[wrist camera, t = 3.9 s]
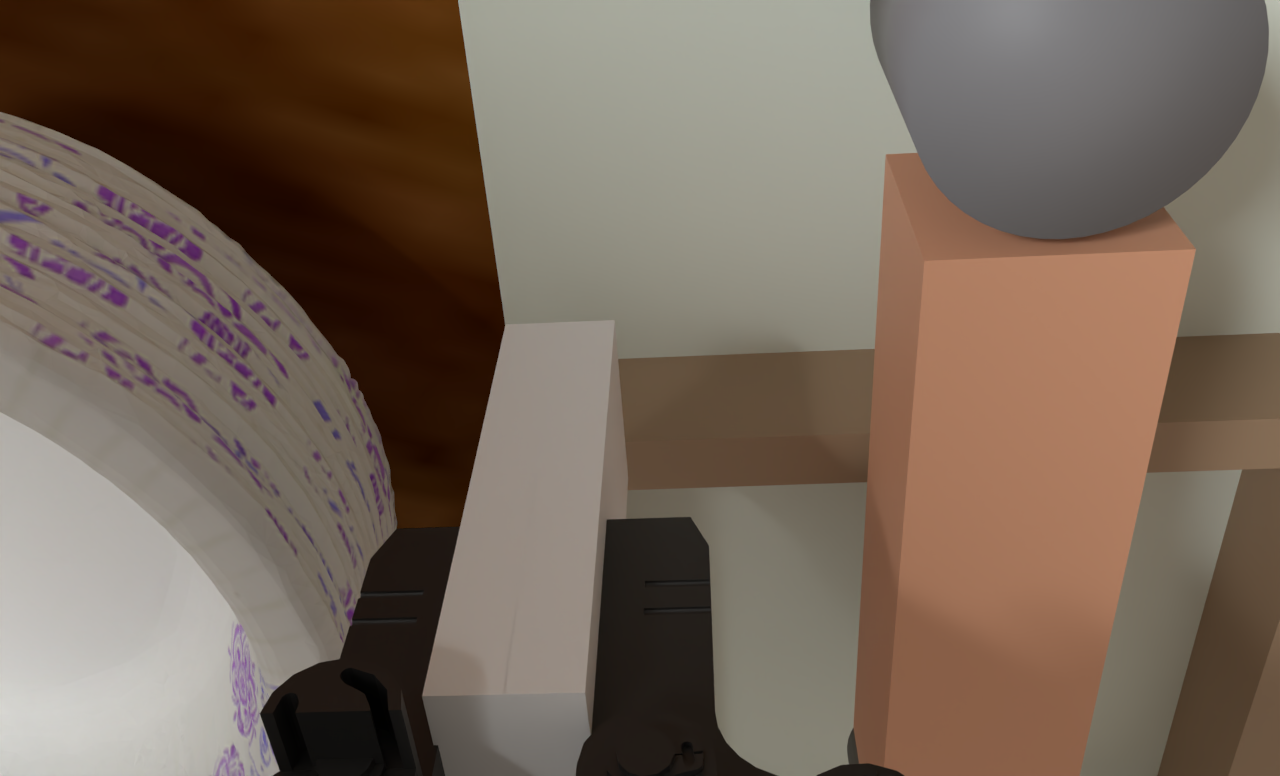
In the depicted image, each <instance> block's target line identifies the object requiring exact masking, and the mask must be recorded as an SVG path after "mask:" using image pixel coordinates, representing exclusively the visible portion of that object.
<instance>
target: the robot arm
mask: <svg viewBox="0 0 1280 776" xmlns="http://www.w3.org/2000/svg"><path fill="white" fill-rule="evenodd" d="M627 491H628V470H627V458H626V446H625V434H624V423H623V411H622V399H621V387H620V376H619V364H618V352H617V340H616V328H615V320H604V321H580V322H555V323H530V324H505V329H504V333H503V338H502V342H501V347H500V351H499V356H498V360H497V365H496V369H495V373H494V378H493V382H492V387H491V391H490V396H489V400H488V405H487V409H486V414H485V418H484V422H483V427H482V431H481V436H480V440H479V445H478V449H477V454H476V458H475V463H474V467H473V471H472V476H471V480H470V485H469V489H468V494H467V498H466V503H465V507H464V511H463V516H462V520H461V525H460V527H435V528H403V529H396V530H395V531H394V532H393V533H392V534H391V536H390V537H389V538H388V539H387V540H386V541H385V542H384V544H383V545H382V546H381V547H380V548H379V549H378V551H377V552H376V553H375V554H374V555H373V556H372V557H371V559H370V562H369V565H368V568H367V571H366V575H365V578H364V581H363V584H362V588H361V591H360V598H358V601H357V604H356V607H355V610H354V614H353V617H352V626H350V627H349V630H348V633H347V636H346V640H345V643H344V646H343V649H342V653H341V656H340V659H338V660H332V661H326V662H320V663H317V664H315V665H313V666H311V667H309V668H307V669H304V670H302V671H300V672H298V673H296V674H293V675H292V676H291V677H290V678H289V679H288V680H286V681H285V682H284V683H283V684H282V685H281V686H279V687H278V688H277V689H276V690H275V691H273V692H272V694H271V696H270V697H269V699H268V701H267V702H266V704H265V706H264V707H263V709H262V711H261V712H260V716H261V719H262V722H263V724H264V727H265V730H266V733H267V736H268V739H269V741H270V744H271V747H272V750H273V753H274V756H275V758H276V761H277V764H278V767H279V770H280V771H279V772H277V773H276V774H274V775H272V776H777V775H775V774H772V773H769V772H767V771H764V770H762V769H759V768H756V767H755V766H753V765H752V764H750V763H749V762H747V761H746V760H744V759H743V758H741V757H740V756H739V755H738V754H737V753H736V752H735V751H734V750H733V749H732V748H731V747H730V746H729V745H728V744H727V743H726V741H725V739H724V737H723V735H722V733H721V731H720V729H719V728H718V724H717V719H716V714H715V691H714V663H713V635H712V609H711V583H710V557H709V545H708V543H707V542H706V540H705V539H704V537H703V536H702V534H701V532H700V531H699V529H698V528H697V526H696V525H695V523H694V522H693V520H692V518H691V517H668V518H637V519H626V510H627ZM817 776H904V775H903V774H901V773H900V772H898V771H896V770H892V769H889V768H885V767H881V766H877V765H874V764H870V763H865V764H847V765H840V766H837V767H835V768H832V769H830V770H828V771H825V772H823V773H821V774H818V775H817Z"/></svg>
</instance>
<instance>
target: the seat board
mask: <svg viewBox="0 0 1280 776" xmlns="http://www.w3.org/2000/svg"><path fill="white" fill-rule="evenodd" d="M458 4H459V10H460V17H461V24H462V31H463V38H464V45H465V52H466V59H467V66H468V72H469V79H470V86H471V93H472V100H473V107H474V114H475V121H476V128H477V134H478V141H479V148H480V155H481V162H482V169H483V176H484V183H485V189H486V196H487V203H488V210H489V217H490V224H491V231H492V238H493V245H494V251H495V258H496V265H497V272H498V279H499V286H500V293H501V300H502V307H503V313H504V320H505V324H530V323H555V322H580V321H604V320H615V328H616V340H617V352H618V364H619V376H620V387H621V399H622V411H623V423H624V434H625V446H626V458H627V470H628V491H627V510H626V519H637V518H668V517H691V518H692V520H693V522H694V523H695V525H696V526H697V528H698V529H699V531H700V532H701V534H702V536H703V537H704V539H705V540H706V542H707V543H708V545H709V557H710V583H711V609H712V635H713V663H714V691H715V714H716V719H717V724H718V728H719V729H720V731H721V733H722V735H723V737H724V739H725V741H726V743H727V744H728V745H729V746H730V747H731V748H732V749H733V750H734V751H735V752H736V753H737V754H738V755H739V756H740V757H741V758H743V759H744V760H746V761H747V762H749V763H750V764H752V765H753V766H755V767H756V768H759V769H762V770H764V771H767V772H769V773H772V774H775V775H777V776H817V775H818V774H821V773H823V772H825V771H828V770H830V769H832V768H835V767H837V766H840V765H847V764H849V762H848V755H847V744H848V738H849V736H850V733H851V731H852V729H853V726H854V708H855V690H856V672H857V655H858V637H859V619H860V602H861V584H862V566H863V548H864V531H865V513H866V495H867V477H868V460H869V442H870V424H871V406H872V389H873V371H874V353H875V336H876V318H877V300H878V282H879V265H880V247H881V229H882V211H883V194H884V176H885V158H886V154H903V153H917V150H916V148H915V145H914V143H913V141H912V138H911V136H910V133H909V131H908V129H907V126H906V124H905V122H904V119H903V117H902V114H901V112H900V110H899V107H898V105H897V102H896V100H895V98H894V95H893V93H892V90H891V88H890V86H889V83H888V81H887V79H886V76H885V74H884V71H883V69H882V67H881V64H880V62H879V59H878V56H877V53H876V50H875V47H874V43H873V38H872V32H871V25H870V0H458ZM1265 4H1266V8H1267V16H1268V24H1269V47H1268V56H1267V62H1266V68H1265V74H1264V77H1263V81H1262V84H1261V87H1260V90H1259V94H1258V97H1257V99H1256V101H1255V103H1254V106H1253V108H1252V110H1251V112H1250V115H1249V117H1248V119H1247V120H1246V122H1245V124H1244V126H1243V127H1242V129H1241V131H1240V132H1239V134H1238V136H1237V137H1236V139H1235V140H1234V142H1233V143H1232V144H1231V146H1230V147H1229V148H1228V150H1227V151H1226V152H1225V154H1224V155H1223V156H1222V158H1221V159H1220V160H1219V161H1218V162H1217V163H1216V164H1215V165H1214V166H1213V167H1212V168H1211V169H1210V170H1209V172H1208V173H1207V174H1206V175H1205V176H1204V177H1202V178H1201V179H1200V180H1199V181H1198V182H1197V183H1196V184H1194V185H1193V186H1192V187H1191V188H1190V189H1189V190H1188V191H1186V192H1185V193H1183V194H1182V195H1181V196H1179V197H1178V198H1176V199H1175V200H1174V201H1172V202H1171V203H1169V204H1168V205H1166V206H1164V208H1165V210H1166V211H1167V212H1168V213H1169V215H1170V216H1171V217H1172V219H1173V220H1174V221H1175V223H1176V224H1177V225H1178V226H1179V228H1180V229H1181V230H1182V232H1183V233H1184V234H1185V236H1186V237H1187V238H1188V239H1189V241H1190V242H1191V243H1192V245H1193V246H1194V247H1195V249H1196V252H1195V256H1194V261H1193V265H1192V270H1191V274H1190V279H1189V283H1188V288H1187V292H1186V297H1185V301H1184V306H1183V310H1182V315H1181V319H1180V324H1179V328H1178V333H1177V338H1176V342H1175V347H1174V351H1173V356H1172V360H1171V365H1170V369H1169V374H1168V378H1167V383H1166V387H1165V392H1164V396H1163V401H1162V405H1161V410H1160V414H1159V419H1158V423H1157V428H1156V432H1155V437H1154V441H1153V446H1152V451H1151V455H1150V460H1149V464H1148V469H1147V473H1146V478H1145V482H1144V487H1143V491H1142V496H1141V500H1140V505H1139V509H1138V514H1137V518H1136V523H1135V527H1134V532H1133V536H1132V541H1131V545H1130V550H1129V555H1128V559H1127V564H1126V568H1125V573H1124V577H1123V582H1122V586H1121V591H1120V595H1119V600H1118V604H1117V609H1116V613H1115V618H1114V622H1113V627H1112V631H1111V636H1110V640H1109V645H1108V649H1107V654H1106V658H1105V663H1104V668H1103V672H1102V677H1101V681H1100V686H1099V690H1098V695H1097V699H1096V704H1095V708H1094V713H1093V717H1092V722H1091V726H1090V731H1089V735H1088V740H1087V744H1086V749H1085V753H1084V758H1083V762H1082V767H1081V771H1080V776H1280V0H1265Z"/></svg>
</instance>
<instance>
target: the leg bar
mask: <svg viewBox="0 0 1280 776" xmlns="http://www.w3.org/2000/svg"><path fill="white" fill-rule="evenodd" d="M870 25H871V32H872V38H873V43H874V47H875V50H876V53H877V56H878V59H879V62H880V64H881V67H882V69H883V71H884V74H885V76H886V79H887V81H888V83H889V86H890V88H891V90H892V93H893V95H894V98H895V100H896V102H897V105H898V107H899V110H900V112H901V114H902V117H903V119H904V122H905V124H906V126H907V129H908V131H909V133H910V136H911V138H912V141H913V143H914V145H915V148H916V150H917V153H903V154H886V158H885V176H884V194H883V211H882V229H881V247H880V265H879V282H878V300H877V318H876V336H875V353H874V371H873V389H872V406H871V424H870V442H869V460H868V477H867V495H866V513H865V531H864V548H863V566H862V584H861V602H860V619H859V637H858V655H857V672H856V690H855V708H854V726H853V729H852V731H851V733H850V736H849V738H848V744H847V755H848V762H849V764H865V763H870V764H874V765H877V766H881V767H885V768H889V769H892V770H896V771H898V772H900V773H901V774H903V775H904V776H1080V771H1081V767H1082V762H1083V758H1084V753H1085V749H1086V744H1087V740H1088V735H1089V731H1090V726H1091V722H1092V717H1093V713H1094V708H1095V704H1096V699H1097V695H1098V690H1099V686H1100V681H1101V677H1102V672H1103V668H1104V663H1105V658H1106V654H1107V649H1108V645H1109V640H1110V636H1111V631H1112V627H1113V622H1114V618H1115V613H1116V609H1117V604H1118V600H1119V595H1120V591H1121V586H1122V582H1123V577H1124V573H1125V568H1126V564H1127V559H1128V555H1129V550H1130V545H1131V541H1132V536H1133V532H1134V527H1135V523H1136V518H1137V514H1138V509H1139V505H1140V500H1141V496H1142V491H1143V487H1144V482H1145V478H1146V473H1147V469H1148V464H1149V460H1150V455H1151V451H1152V446H1153V441H1154V437H1155V432H1156V428H1157V423H1158V419H1159V414H1160V410H1161V405H1162V401H1163V396H1164V392H1165V387H1166V383H1167V378H1168V374H1169V369H1170V365H1171V360H1172V356H1173V351H1174V347H1175V342H1176V338H1177V333H1178V328H1179V324H1180V319H1181V315H1182V310H1183V306H1184V301H1185V297H1186V292H1187V288H1188V283H1189V279H1190V274H1191V270H1192V265H1193V261H1194V256H1195V252H1196V249H1195V247H1194V246H1193V245H1192V243H1191V242H1190V241H1189V239H1188V238H1187V237H1186V236H1185V234H1184V233H1183V232H1182V230H1181V229H1180V228H1179V226H1178V225H1177V224H1176V223H1175V221H1174V220H1173V219H1172V217H1171V216H1170V215H1169V213H1168V212H1167V211H1166V210H1165V208H1164V206H1166V205H1168V204H1169V203H1171V202H1172V201H1174V200H1175V199H1176V198H1178V197H1179V196H1181V195H1182V194H1183V193H1185V192H1186V191H1188V190H1189V189H1190V188H1191V187H1192V186H1193V185H1194V184H1196V183H1197V182H1198V181H1199V180H1200V179H1201V178H1202V177H1204V176H1205V175H1206V174H1207V173H1208V172H1209V170H1210V169H1211V168H1212V167H1213V166H1214V165H1215V164H1216V163H1217V162H1218V161H1219V160H1220V159H1221V158H1222V156H1223V155H1224V154H1225V152H1226V151H1227V150H1228V148H1229V147H1230V146H1231V144H1232V143H1233V142H1234V140H1235V139H1236V137H1237V136H1238V134H1239V132H1240V131H1241V129H1242V127H1243V126H1244V124H1245V122H1246V120H1247V119H1248V117H1249V115H1250V112H1251V110H1252V108H1253V106H1254V103H1255V101H1256V99H1257V97H1258V94H1259V90H1260V87H1261V84H1262V81H1263V77H1264V74H1265V68H1266V62H1267V56H1268V47H1269V24H1268V16H1267V8H1266V4H1265V0H870Z"/></svg>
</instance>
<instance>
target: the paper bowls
mask: <svg viewBox="0 0 1280 776" xmlns="http://www.w3.org/2000/svg"><path fill="white" fill-rule="evenodd" d="M396 528H397V519H396V514H395V504H394V491H393V489H392V486H391V479H390V467H389V463H388V460H387V458H386V455H385V452H384V449H383V445H382V439H381V435H380V432H379V430H378V428H377V425H376V424H375V423H374V421H373V419H372V416H371V413H370V410H369V408H368V406H367V405H366V401H365V400H364V396H363V394H362V392H361V391H360V390H358V382H357V381H356V380H355V379H352V378H351V375H350V371H349V368H348V366H347V365H346V363H345V361H344V360H343V359H342V358H341V357H339V356H338V355H337V353H336V352H335V351H334V349H333V348H332V346H331V345H330V343H329V342H328V341H327V340H326V338H325V337H324V336H323V335H322V334H321V332H320V331H319V330H318V329H317V328H316V326H315V325H314V324H313V323H312V322H311V320H310V319H309V317H308V316H307V314H306V313H305V311H304V310H303V308H302V307H301V306H300V305H299V304H298V303H297V302H296V301H295V299H294V298H293V297H292V296H291V295H290V294H289V293H288V292H287V291H286V290H285V289H284V288H283V287H282V286H281V285H280V284H279V283H278V282H277V281H276V280H275V279H274V278H273V277H272V276H271V275H270V274H269V273H268V272H267V271H266V270H264V269H263V268H262V267H261V266H260V265H258V264H257V263H256V262H255V261H254V260H253V259H252V258H251V257H250V256H249V255H248V254H247V253H246V251H245V250H244V249H243V247H242V246H241V245H240V244H239V243H237V242H236V241H234V240H233V239H231V238H230V237H228V236H227V235H226V234H225V233H224V232H222V231H221V230H220V229H219V228H218V227H217V226H216V225H214V224H213V223H211V222H210V221H208V220H207V219H206V218H205V217H204V215H203V214H202V213H201V212H200V211H198V210H197V209H195V208H193V207H192V206H190V205H189V204H187V203H186V202H184V201H183V200H181V199H179V198H178V197H176V196H175V195H173V194H172V193H170V192H169V191H167V190H166V189H164V188H163V187H161V186H160V185H158V184H157V183H155V182H154V181H152V180H150V179H149V178H147V177H146V176H144V175H142V174H141V173H139V172H138V171H136V170H134V169H133V168H131V167H129V166H128V165H126V164H124V163H122V162H120V161H119V160H117V159H115V158H113V157H111V156H110V155H108V154H106V153H104V152H102V151H101V150H99V149H97V148H94V147H92V146H89V145H87V144H85V143H82V142H80V141H78V140H75V139H73V138H71V137H69V136H66V135H64V134H62V133H60V132H57V131H54V130H52V129H49V128H46V127H44V126H41V125H38V124H36V123H33V122H31V121H28V120H25V119H23V118H19V117H16V116H13V115H9V114H6V113H2V112H0V776H272V775H274V774H276V773H277V772H279V771H280V770H279V767H278V764H277V761H276V758H275V756H274V753H273V750H272V747H271V744H270V741H269V739H268V736H267V733H266V730H265V727H264V724H263V722H262V719H261V716H260V712H261V711H262V709H263V707H264V706H265V704H266V702H267V701H268V699H269V697H270V696H271V694H272V692H273V691H275V690H276V689H277V688H278V687H279V686H281V685H282V684H283V683H284V682H285V681H286V680H288V679H289V678H290V677H291V676H292V675H293V674H296V673H298V672H300V671H302V670H304V669H307V668H309V667H311V666H313V665H315V664H317V663H320V662H326V661H332V660H338V659H340V656H341V653H342V649H343V646H344V643H345V640H346V636H347V633H348V630H349V627H350V626H352V617H353V614H354V610H355V607H356V604H357V601H358V598H360V591H361V588H362V584H363V581H364V578H365V575H366V571H367V568H368V565H369V562H370V559H371V557H372V556H373V555H374V554H375V553H376V552H377V551H378V549H379V548H380V547H381V546H382V545H383V544H384V542H385V541H386V540H387V539H388V538H389V537H390V536H391V534H392V533H393V532H394V531H395V530H396Z"/></svg>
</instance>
